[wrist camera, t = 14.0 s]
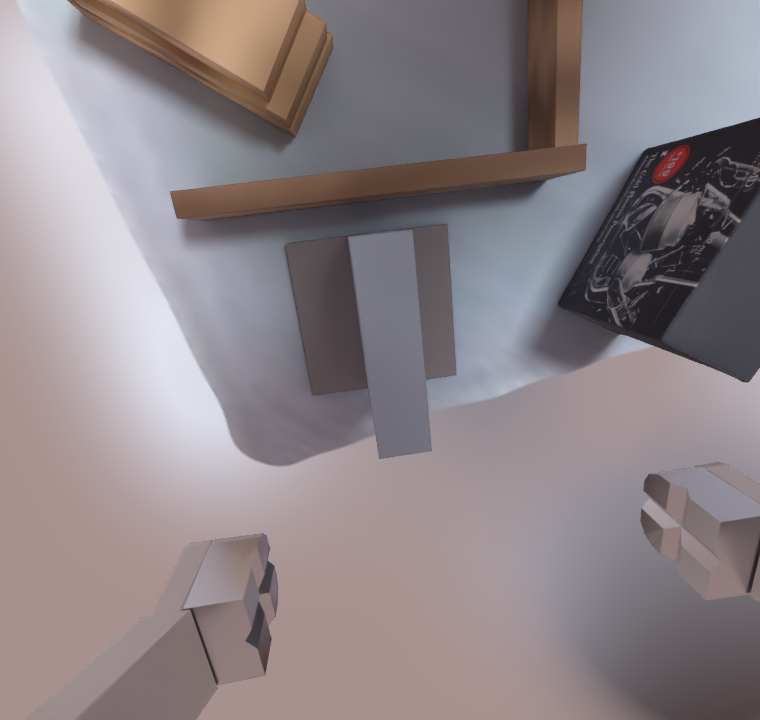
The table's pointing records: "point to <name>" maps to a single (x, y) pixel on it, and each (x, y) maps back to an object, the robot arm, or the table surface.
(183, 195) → the walnut rack
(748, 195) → the small box
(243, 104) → the offcut stack
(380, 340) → the gray block
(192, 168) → the table surface
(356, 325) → the charcoal mat
